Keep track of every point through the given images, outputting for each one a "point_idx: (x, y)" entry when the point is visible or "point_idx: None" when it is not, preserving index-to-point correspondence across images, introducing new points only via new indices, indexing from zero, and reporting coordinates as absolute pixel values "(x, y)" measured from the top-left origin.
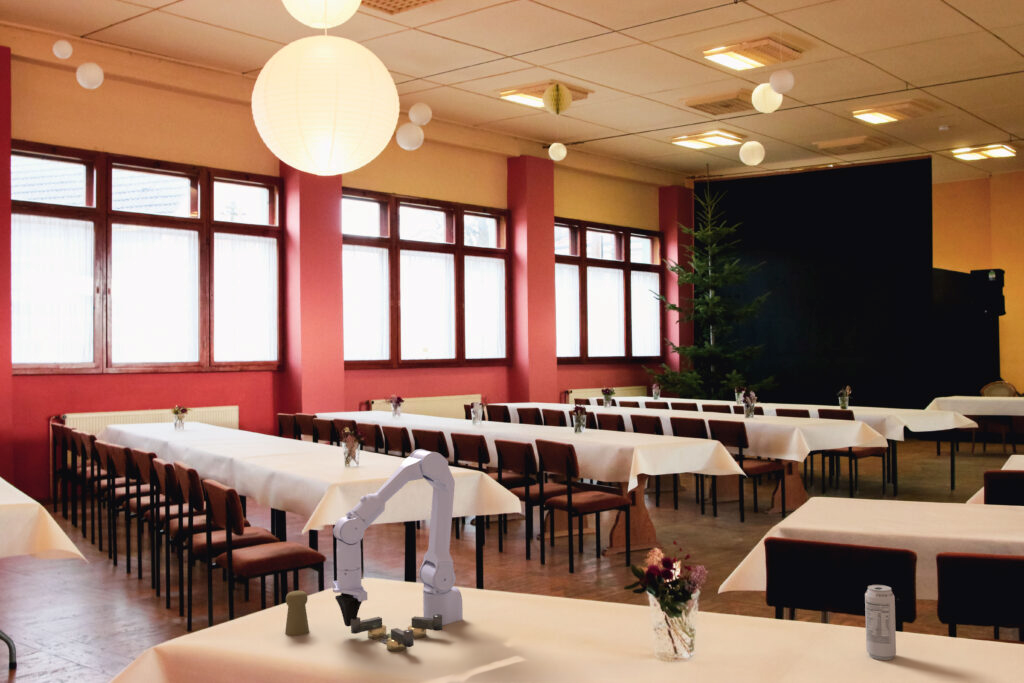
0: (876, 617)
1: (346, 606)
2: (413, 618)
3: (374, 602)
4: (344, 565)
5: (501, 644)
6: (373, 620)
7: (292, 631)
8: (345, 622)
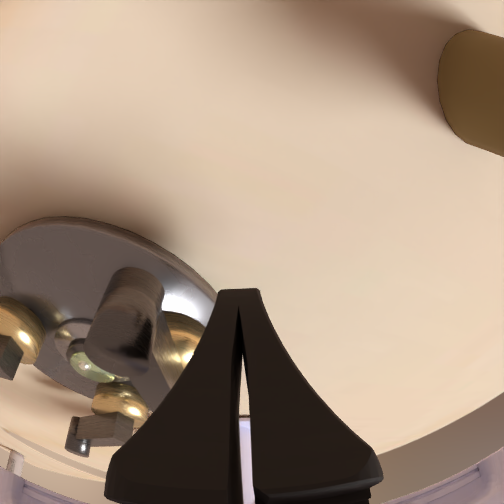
0: (7, 469)
1: (144, 426)
2: (108, 437)
3: (469, 378)
4: None
5: (60, 420)
6: (139, 391)
7: (490, 43)
8: (233, 302)
